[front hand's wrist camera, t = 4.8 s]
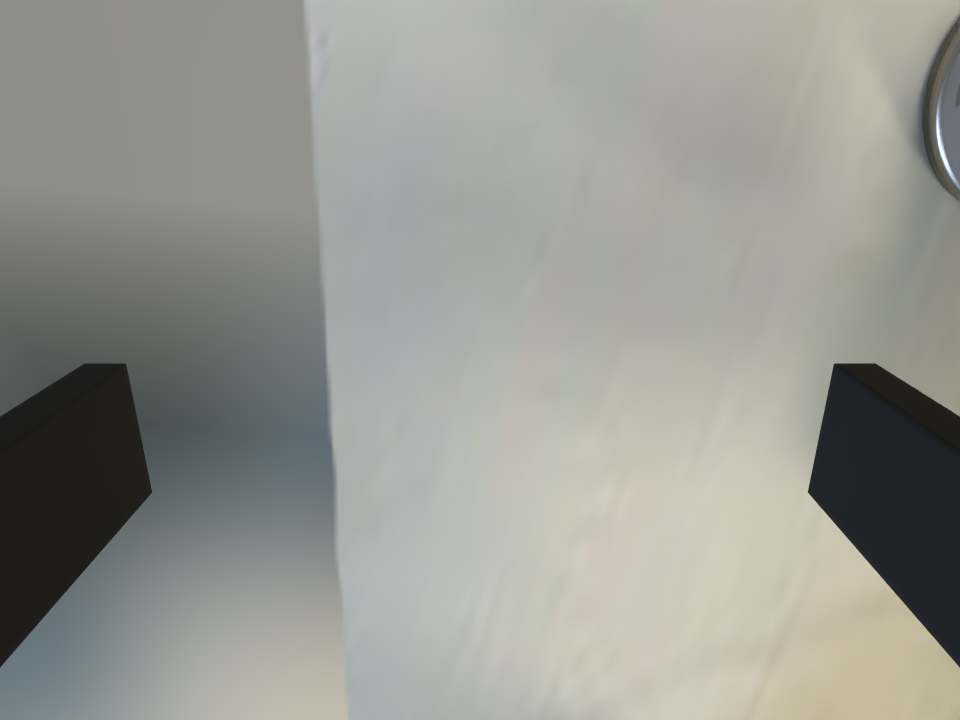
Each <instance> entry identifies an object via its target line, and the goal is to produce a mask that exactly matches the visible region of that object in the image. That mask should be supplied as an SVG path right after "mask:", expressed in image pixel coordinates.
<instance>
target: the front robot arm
mask: <svg viewBox="0 0 960 720" xmlns="http://www.w3.org/2000/svg"><path fill="white" fill-rule="evenodd" d="M923 135H924V143H925V147H926V151H927V155H928V158H929V161H930V163H931V166H932V168H933V170H934V172H935V174H936V176H937V177H938V179H939V180H940V182H941V183H942V185H943V186H944V187H945V188H946V189H947V190H948V191H949V193H951V194H952V195H953V196H954V197H955V198H956V199H957V200H959V201H960V19H959V21H958V22H957V23H956V25H955V26H954V28H953V29H952V31H951V32H950V34H949V36H948V37H947V39H946V41H945V43H944V44H943V46H942V48H941V50H940V52H939V54H938V57H937V59H936V61H935V64H934V66H933V69H932V72H931V75H930V78H929V81H928V85H927V89H926V93H925V100H924V106H923ZM151 493H152V489H151V485H150V480H149V475H148V470H147V465H146V460H145V455H144V450H143V445H142V440H141V435H140V430H139V426H138V421H137V416H136V411H135V406H134V401H133V396H132V392H131V387H130V382H129V376H128V372H127V367H126V364H83V365H82V366H80V367H78V368H77V369H75V370H74V371H72V372H70V373H69V374H67V375H66V376H64V377H62V378H61V379H59V380H58V381H56V382H55V383H53V384H52V385H50V386H48V387H47V388H45V389H43V390H42V391H40V392H39V393H37V394H36V395H34V396H32V397H31V398H29V399H28V400H26V401H24V402H23V403H21V404H20V405H18V406H16V407H15V408H13V409H12V410H10V411H8V412H7V413H5V414H4V415H2V416H1V417H0V667H1V666H2V665H3V663H4V662H5V661H6V660H7V659H8V658H9V657H10V655H11V654H12V653H13V652H14V651H15V650H16V648H17V647H18V646H19V645H20V644H21V643H22V642H23V640H24V639H25V638H26V637H27V636H28V635H29V633H30V632H31V631H32V630H33V629H34V628H35V627H36V625H37V624H38V623H39V622H40V621H41V620H42V619H43V617H44V616H45V615H46V614H47V613H48V612H49V610H50V609H51V608H52V607H53V606H54V605H55V604H56V602H57V601H58V600H59V599H60V598H61V597H62V596H63V594H64V593H65V592H66V591H67V590H68V588H69V587H70V586H71V585H72V584H73V583H74V582H75V581H76V579H77V578H78V577H79V576H80V575H81V574H82V572H83V571H84V570H85V569H86V568H87V567H88V566H89V564H90V563H91V562H92V561H93V560H94V559H95V557H96V556H97V555H98V554H99V553H100V552H101V551H102V549H103V548H104V547H105V546H106V545H107V544H108V543H109V541H110V540H111V539H112V538H113V537H114V536H115V534H116V533H117V532H118V531H119V530H120V529H121V528H122V526H123V525H124V524H125V523H126V522H127V521H128V519H129V518H130V517H131V516H132V515H133V514H134V513H135V511H136V510H137V509H138V508H139V507H140V506H141V505H142V503H143V502H144V501H145V500H146V499H147V498H148V496H149V495H150V494H151ZM808 493H809V494H810V495H811V496H812V498H813V499H814V500H815V501H816V502H817V503H818V505H819V506H820V507H821V508H822V509H823V510H824V511H825V513H826V514H827V515H828V516H829V517H830V518H831V519H832V521H833V522H834V523H835V524H836V525H837V526H838V528H839V529H840V530H841V531H842V532H843V533H844V534H845V536H846V537H847V538H848V539H849V540H850V541H851V543H852V544H853V545H854V546H855V547H856V548H857V549H858V551H859V552H860V553H861V554H862V555H863V556H864V558H865V559H866V560H867V561H868V562H869V563H870V564H871V566H872V567H873V568H874V569H875V570H876V571H877V572H878V574H879V575H880V576H881V577H882V578H883V579H884V581H885V582H886V583H887V584H888V585H889V586H890V587H891V589H892V590H893V591H894V592H895V593H896V594H897V596H898V597H899V598H900V599H901V600H902V601H903V602H904V604H905V605H906V606H907V607H908V608H909V609H910V610H911V612H912V613H913V614H914V615H915V616H916V617H917V619H918V620H919V621H920V622H921V623H922V624H923V625H924V627H925V628H926V629H927V630H928V631H929V632H930V634H931V635H932V636H933V637H934V638H935V639H936V640H937V642H938V643H939V644H940V645H941V646H942V647H943V648H944V650H945V651H946V652H947V653H948V654H949V655H950V657H951V658H952V659H953V660H954V661H955V662H956V663H957V665H958V666H959V667H960V417H959V416H958V415H956V414H955V413H953V412H952V411H950V410H948V409H947V408H945V407H944V406H942V405H940V404H939V403H937V402H936V401H934V400H932V399H931V398H929V397H928V396H926V395H925V394H923V393H921V392H920V391H918V390H917V389H915V388H913V387H912V386H910V385H909V384H907V383H905V382H904V381H902V380H901V379H899V378H898V377H896V376H894V375H893V374H891V373H890V372H888V371H886V370H885V369H883V368H882V367H880V366H878V365H877V364H834V367H833V372H832V376H831V381H830V386H829V391H828V396H827V401H826V406H825V411H824V416H823V421H822V426H821V430H820V435H819V440H818V445H817V450H816V455H815V460H814V465H813V470H812V475H811V480H810V484H809V489H808Z"/></svg>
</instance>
